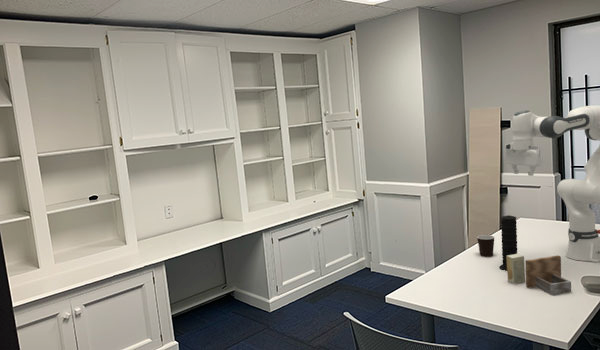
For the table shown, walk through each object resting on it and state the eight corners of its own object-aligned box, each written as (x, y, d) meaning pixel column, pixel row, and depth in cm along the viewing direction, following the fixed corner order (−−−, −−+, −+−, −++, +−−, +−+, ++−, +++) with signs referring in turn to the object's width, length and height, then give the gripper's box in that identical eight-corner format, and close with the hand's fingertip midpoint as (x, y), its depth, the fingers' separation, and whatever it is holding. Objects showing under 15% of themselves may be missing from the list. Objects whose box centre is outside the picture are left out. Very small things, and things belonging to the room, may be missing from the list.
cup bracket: (558, 281, 203) (558, 255, 202) (578, 290, 192) (578, 263, 191) (526, 286, 201) (525, 260, 199) (544, 296, 190) (543, 268, 188)
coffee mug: (492, 258, 240) (491, 240, 239) (475, 256, 246) (475, 238, 244) (498, 252, 249) (497, 234, 248) (482, 250, 255) (481, 233, 253)
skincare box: (519, 278, 210) (518, 253, 209) (525, 282, 206) (524, 255, 205) (506, 281, 209) (505, 255, 208) (512, 284, 205) (511, 257, 204)
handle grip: (501, 271, 221) (524, 271, 219) (499, 218, 217) (522, 217, 215) (497, 264, 231) (518, 264, 228) (495, 213, 227) (516, 212, 225)
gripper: (545, 145, 208) (546, 176, 210) (512, 144, 227) (513, 171, 229) (534, 147, 206) (534, 177, 208) (502, 145, 226) (502, 173, 227)
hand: (523, 174), depth 219 cm, fingers open, 8 cm apart
